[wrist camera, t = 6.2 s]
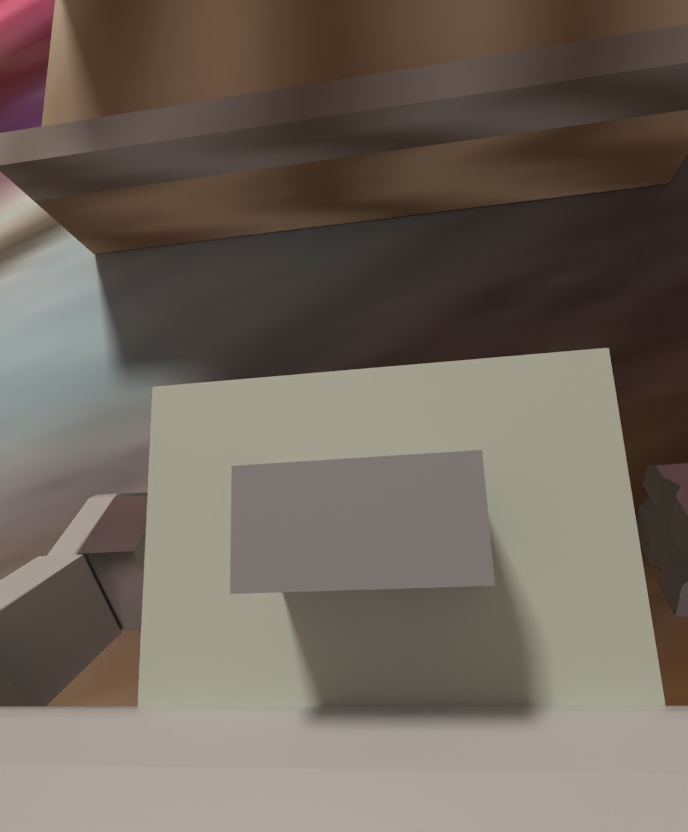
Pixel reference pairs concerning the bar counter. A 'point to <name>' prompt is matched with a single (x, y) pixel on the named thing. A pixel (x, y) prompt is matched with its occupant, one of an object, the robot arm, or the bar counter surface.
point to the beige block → (396, 540)
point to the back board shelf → (343, 111)
